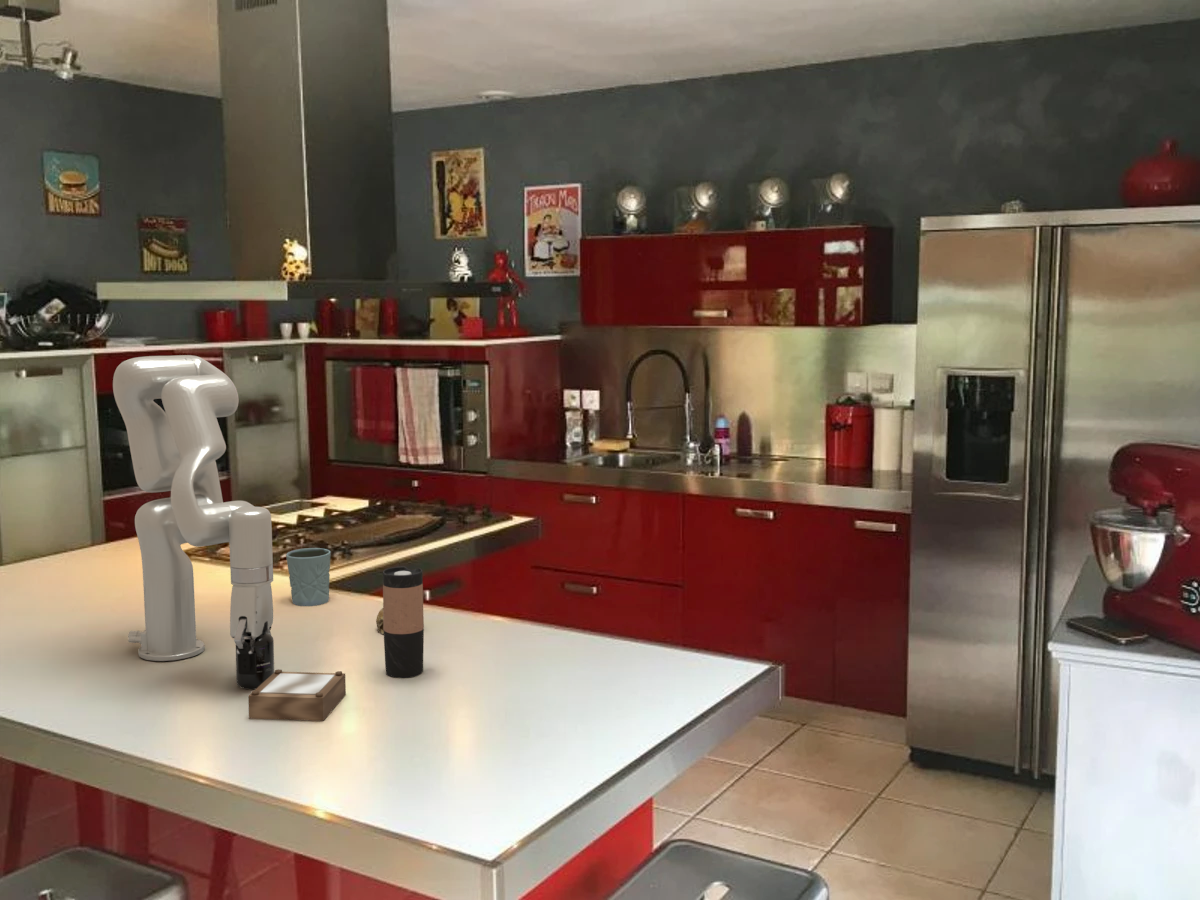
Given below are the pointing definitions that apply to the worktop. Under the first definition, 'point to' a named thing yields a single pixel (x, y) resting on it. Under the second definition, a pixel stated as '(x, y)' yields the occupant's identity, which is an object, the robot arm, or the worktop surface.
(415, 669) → the travel mug
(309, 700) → the walnut base block
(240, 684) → the supplement bottle
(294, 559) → the drinking glass
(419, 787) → the worktop surface
